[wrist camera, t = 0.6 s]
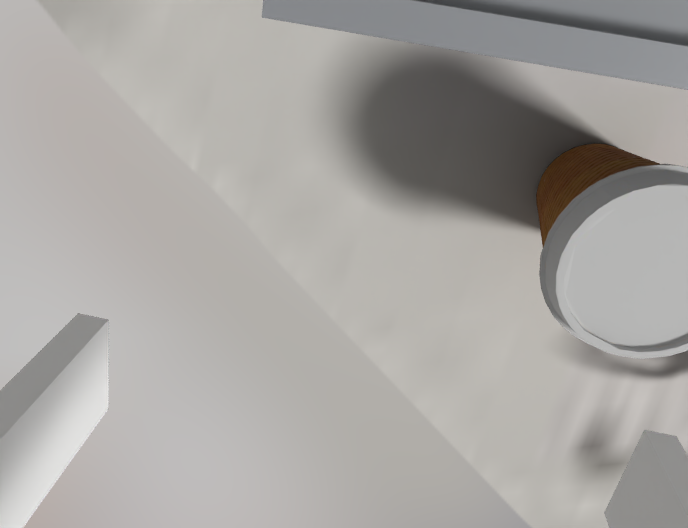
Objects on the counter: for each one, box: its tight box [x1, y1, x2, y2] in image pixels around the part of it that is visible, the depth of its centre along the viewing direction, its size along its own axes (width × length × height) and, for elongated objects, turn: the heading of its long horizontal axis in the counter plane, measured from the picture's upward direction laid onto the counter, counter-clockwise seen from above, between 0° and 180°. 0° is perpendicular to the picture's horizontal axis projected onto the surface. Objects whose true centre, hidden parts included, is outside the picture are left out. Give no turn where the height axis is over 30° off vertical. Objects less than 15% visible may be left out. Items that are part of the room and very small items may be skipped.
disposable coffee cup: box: [536, 144, 688, 359], centre depth 33 cm, size 10×10×12 cm
